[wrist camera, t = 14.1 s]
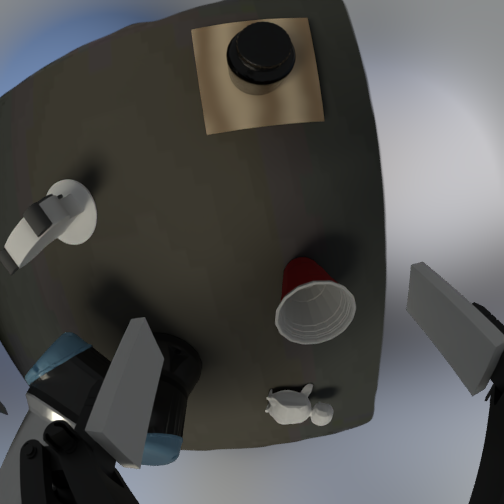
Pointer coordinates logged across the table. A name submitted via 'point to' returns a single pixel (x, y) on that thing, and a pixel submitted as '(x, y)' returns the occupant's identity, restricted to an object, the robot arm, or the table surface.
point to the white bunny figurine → (297, 407)
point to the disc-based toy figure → (51, 223)
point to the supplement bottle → (260, 58)
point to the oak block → (256, 106)
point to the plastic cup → (312, 304)
